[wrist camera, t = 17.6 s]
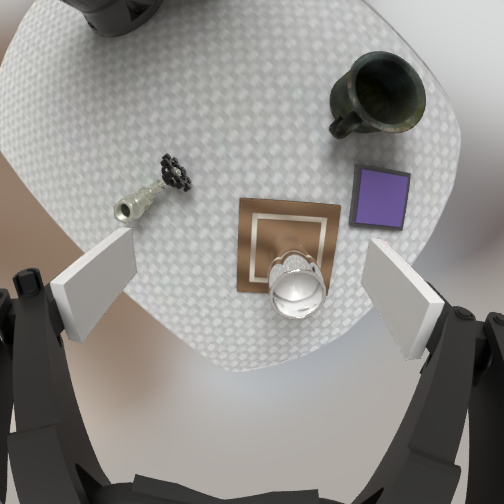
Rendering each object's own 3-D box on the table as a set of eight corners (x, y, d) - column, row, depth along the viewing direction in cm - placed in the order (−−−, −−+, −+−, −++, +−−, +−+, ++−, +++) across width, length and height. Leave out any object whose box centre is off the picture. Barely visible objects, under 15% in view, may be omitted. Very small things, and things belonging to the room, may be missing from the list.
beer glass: (295, 276, 47) (307, 329, 33) (258, 258, 46) (257, 307, 32) (316, 241, 45) (339, 284, 31) (279, 222, 44) (287, 257, 30)
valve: (142, 225, 46) (196, 185, 43) (126, 236, 40) (185, 191, 37) (122, 194, 44) (174, 152, 41) (103, 202, 38) (159, 153, 35)
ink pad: (355, 163, 41) (358, 164, 39) (407, 172, 41) (411, 173, 39) (348, 223, 44) (351, 226, 43) (399, 228, 44) (403, 231, 43)
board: (240, 197, 44) (239, 199, 43) (339, 204, 43) (341, 206, 42) (237, 288, 49) (236, 291, 48) (326, 292, 49) (327, 296, 48)
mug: (401, 109, 37) (439, 101, 26) (345, 162, 41) (373, 168, 30) (357, 60, 35) (385, 36, 23) (297, 113, 39) (310, 99, 27)
